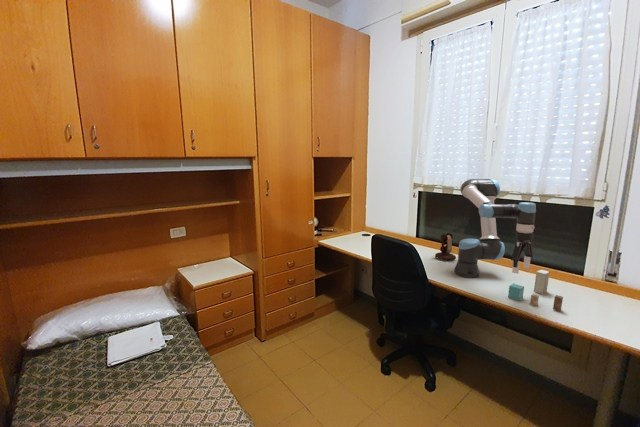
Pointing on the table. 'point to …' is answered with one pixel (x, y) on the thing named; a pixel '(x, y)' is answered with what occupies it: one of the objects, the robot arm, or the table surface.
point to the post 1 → (534, 299)
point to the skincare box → (541, 281)
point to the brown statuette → (446, 248)
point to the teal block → (516, 291)
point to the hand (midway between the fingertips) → (520, 270)
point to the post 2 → (557, 303)
